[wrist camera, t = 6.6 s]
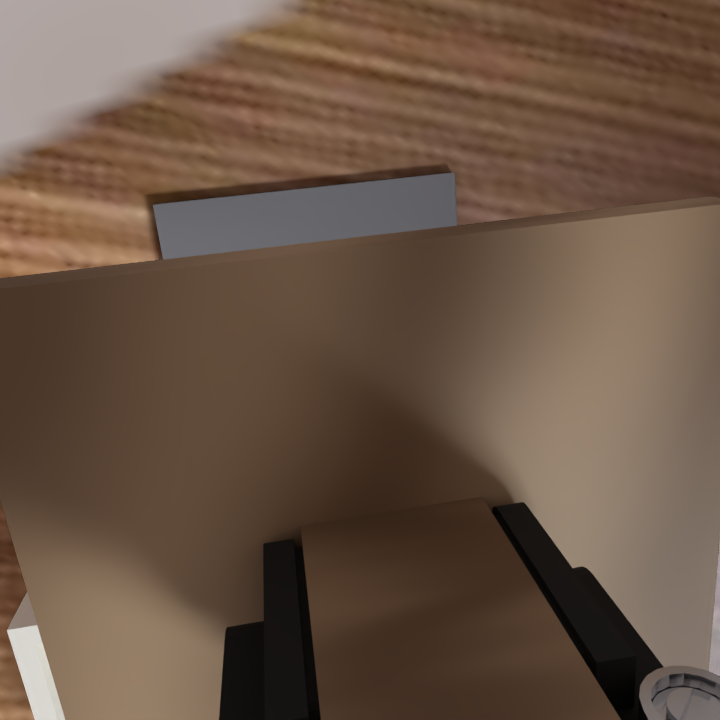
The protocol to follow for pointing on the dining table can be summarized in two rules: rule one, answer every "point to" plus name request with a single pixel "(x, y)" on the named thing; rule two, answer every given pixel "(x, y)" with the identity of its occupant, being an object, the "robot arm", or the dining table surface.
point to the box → (34, 664)
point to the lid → (369, 458)
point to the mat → (305, 215)
